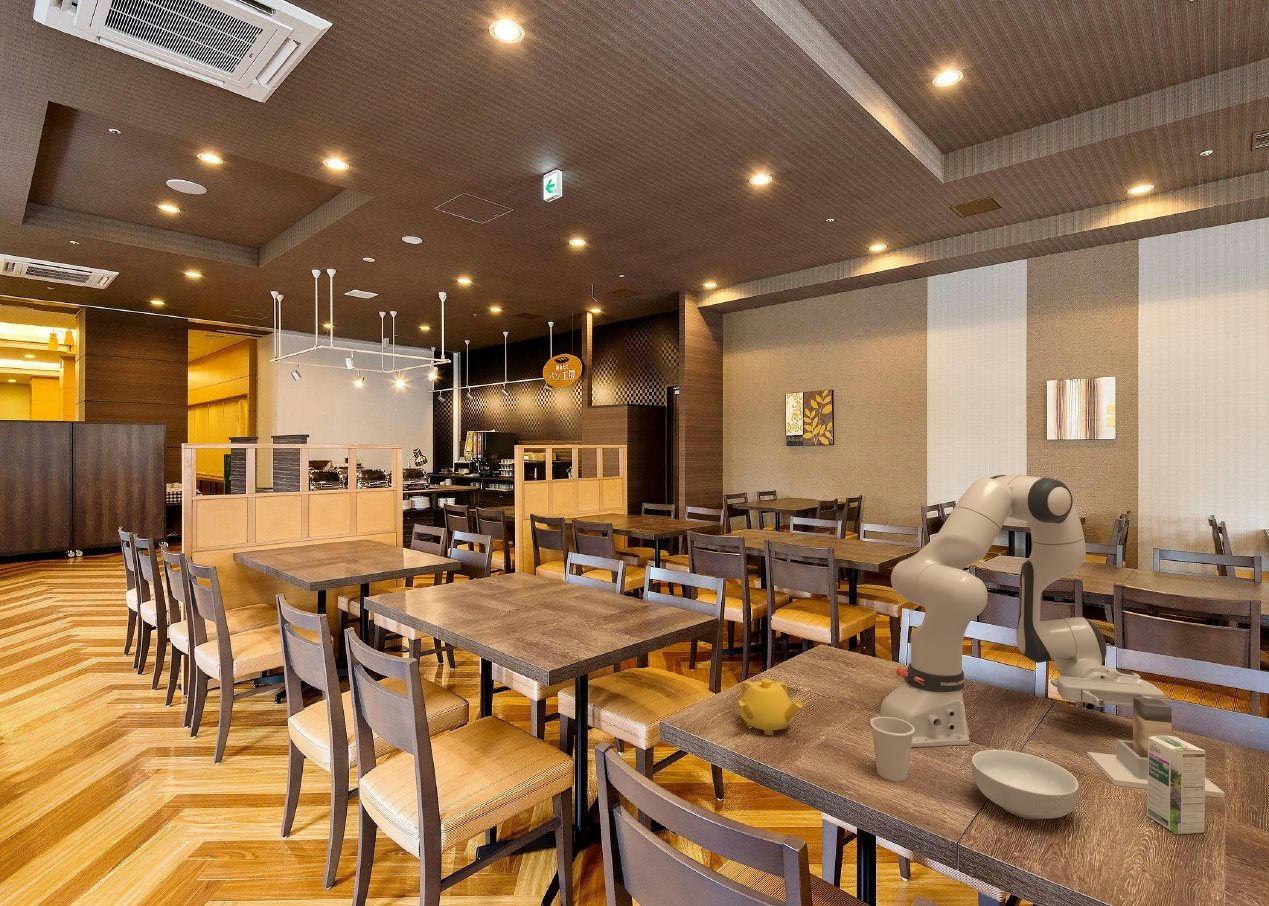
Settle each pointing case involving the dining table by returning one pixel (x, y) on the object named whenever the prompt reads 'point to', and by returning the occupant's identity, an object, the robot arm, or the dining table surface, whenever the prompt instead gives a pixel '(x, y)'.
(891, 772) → the dixie cup
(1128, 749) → the caddy
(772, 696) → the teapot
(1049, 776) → the cereal bowl
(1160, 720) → the tool handle
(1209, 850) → the dining table surface
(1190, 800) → the syrup box
